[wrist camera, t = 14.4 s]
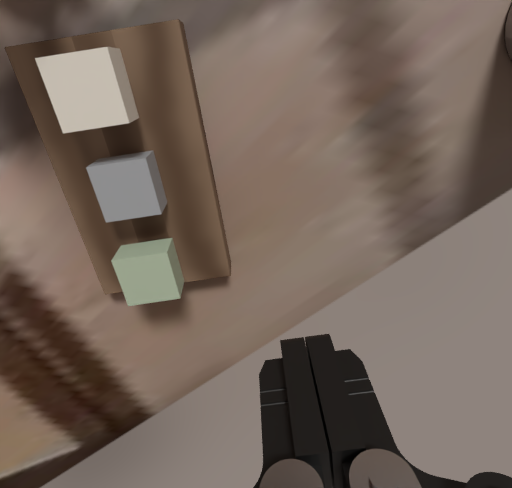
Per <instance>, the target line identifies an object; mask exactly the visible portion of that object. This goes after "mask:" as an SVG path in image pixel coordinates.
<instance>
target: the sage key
mask: <svg viewBox="0 0 512 488" xmlns="http://www.w3.org/2000/svg"><path fill="white" fill-rule="evenodd" d="M111 262H112V264H113V267H114V270H115V272H116V275H117V277H118V280H119V283H120V285H121V288H122V291H123V293H124V296H125V299H126V301H127V304H128V306H133V305H140V304H147V303H153V302H160V301H167V300H174V299H180V298H181V294H182V289H183V285H184V278H183V274H182V271H181V267H180V264H179V260H178V256H177V253H176V249H175V246H174V242H173V238H167V239H160V240H154V241H147V242H141V243H134V244H127V245H121V246H120V248H119V249H118V251H117V253H116V254H115V256H114V257H113V259H112V260H111Z"/></svg>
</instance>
